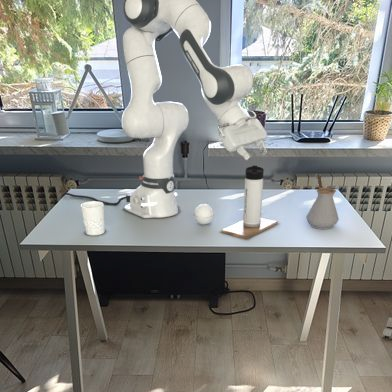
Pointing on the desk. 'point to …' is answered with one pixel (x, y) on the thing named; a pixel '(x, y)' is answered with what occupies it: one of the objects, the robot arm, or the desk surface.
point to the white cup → (93, 217)
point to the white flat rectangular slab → (248, 228)
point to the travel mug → (253, 196)
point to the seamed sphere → (203, 214)
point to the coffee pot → (323, 208)
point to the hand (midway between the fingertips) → (256, 156)
